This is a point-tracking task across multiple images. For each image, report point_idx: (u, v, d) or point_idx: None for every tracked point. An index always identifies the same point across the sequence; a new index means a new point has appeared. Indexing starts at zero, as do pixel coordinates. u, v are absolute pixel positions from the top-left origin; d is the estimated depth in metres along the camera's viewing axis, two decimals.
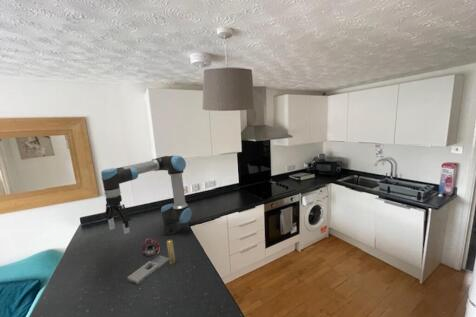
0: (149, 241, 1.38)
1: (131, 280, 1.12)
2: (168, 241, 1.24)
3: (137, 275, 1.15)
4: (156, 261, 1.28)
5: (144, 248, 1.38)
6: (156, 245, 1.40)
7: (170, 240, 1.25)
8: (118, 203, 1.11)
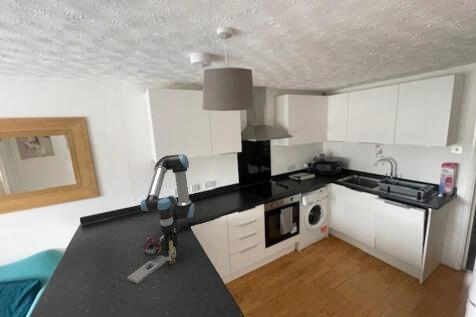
0: (150, 240, 1.39)
1: (131, 280, 1.12)
2: None
3: (137, 275, 1.15)
4: (156, 261, 1.28)
5: (145, 247, 1.39)
6: (157, 244, 1.41)
7: (170, 240, 1.25)
8: (162, 234, 1.20)
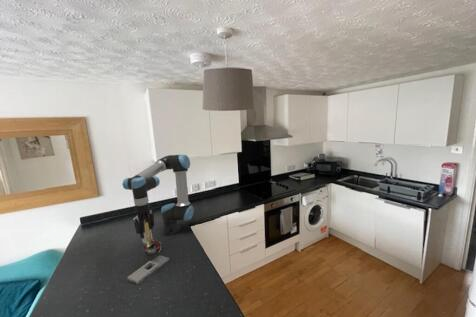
0: None
1: (131, 280, 1.12)
2: None
3: (137, 275, 1.15)
4: (156, 261, 1.28)
5: None
6: (157, 244, 1.41)
7: (146, 222, 1.19)
8: (136, 214, 1.13)
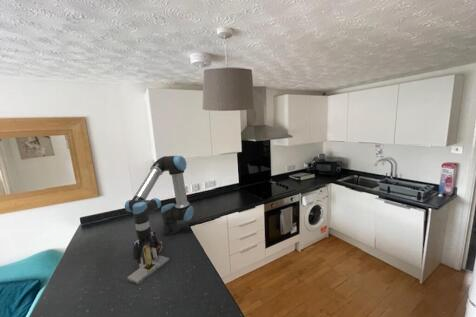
0: None
1: (131, 280, 1.12)
2: (145, 247, 1.20)
3: (137, 275, 1.15)
4: (156, 261, 1.28)
5: None
6: None
7: (147, 246, 1.20)
8: (138, 238, 1.15)
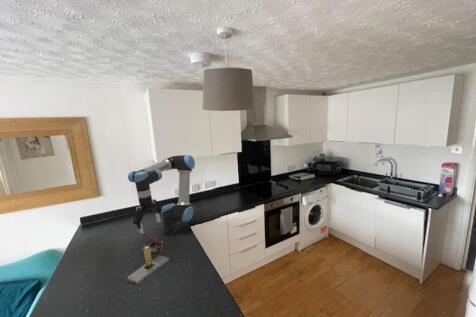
0: (152, 239, 1.41)
1: (131, 280, 1.12)
2: (145, 247, 1.20)
3: (137, 275, 1.15)
4: (156, 261, 1.28)
5: None
6: (158, 243, 1.42)
7: (147, 246, 1.20)
8: (140, 204, 1.21)
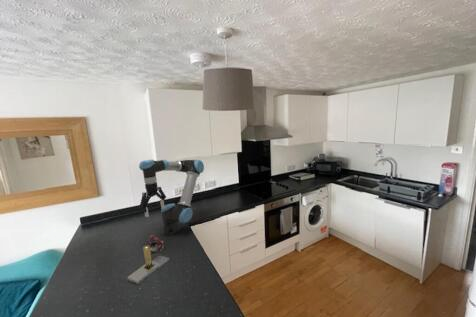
0: (152, 238, 1.42)
1: (131, 280, 1.12)
2: (145, 247, 1.20)
3: (137, 275, 1.15)
4: (156, 261, 1.28)
5: (148, 244, 1.42)
6: (159, 243, 1.42)
7: (147, 246, 1.20)
8: (147, 190, 1.32)
